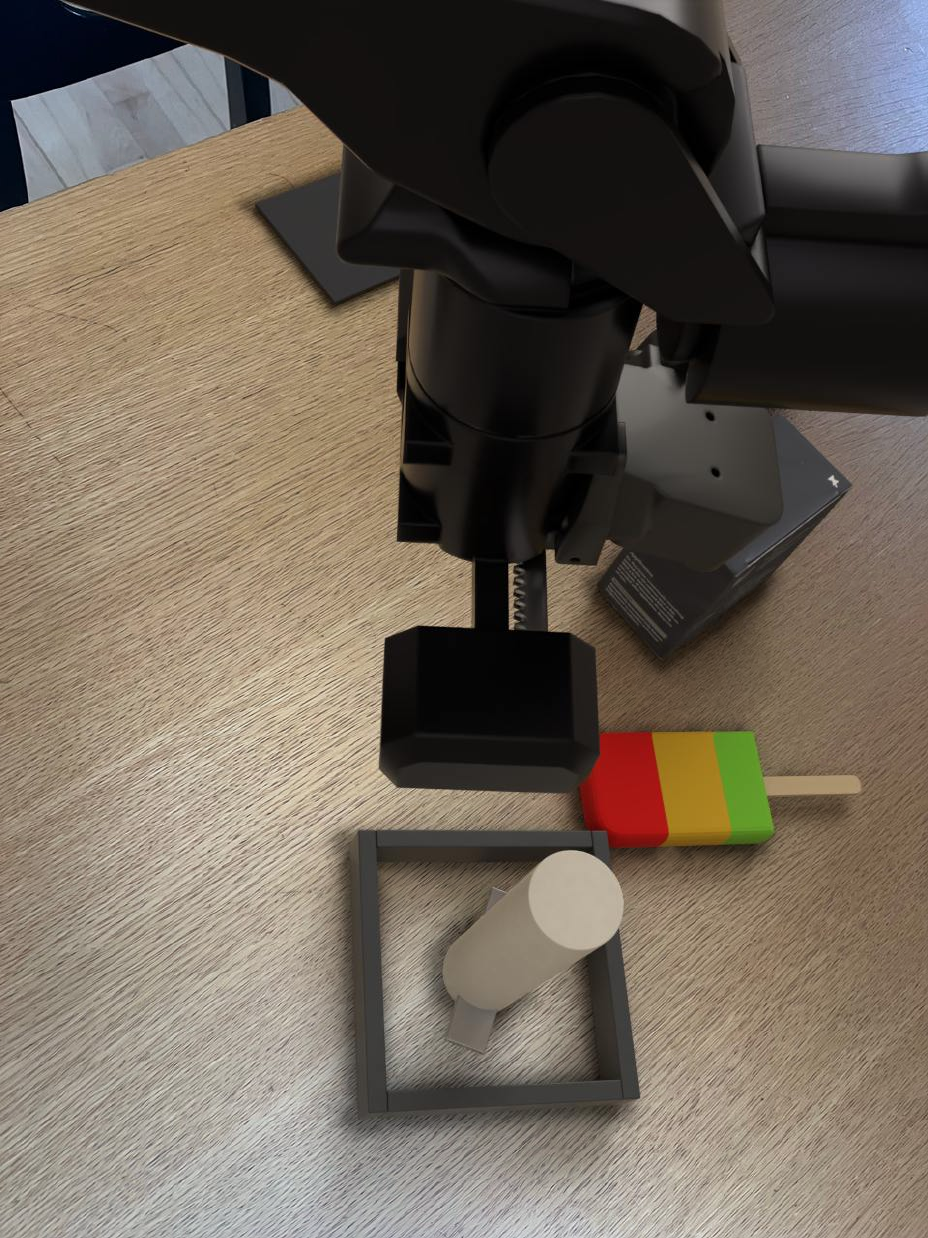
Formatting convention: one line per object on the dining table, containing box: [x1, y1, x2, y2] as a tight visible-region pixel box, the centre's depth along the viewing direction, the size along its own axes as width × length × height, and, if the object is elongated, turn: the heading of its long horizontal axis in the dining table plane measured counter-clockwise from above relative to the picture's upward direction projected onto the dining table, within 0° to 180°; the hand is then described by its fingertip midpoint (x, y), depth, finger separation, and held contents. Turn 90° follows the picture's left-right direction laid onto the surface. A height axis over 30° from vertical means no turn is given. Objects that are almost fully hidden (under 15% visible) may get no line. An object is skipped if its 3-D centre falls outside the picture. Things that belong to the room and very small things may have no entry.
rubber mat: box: [254, 171, 400, 306], centre depth 73 cm, size 8×8×1 cm
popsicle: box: [579, 730, 862, 849], centre depth 62 cm, size 6×15×2 cm, turn 96°
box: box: [596, 412, 853, 660], centre depth 64 cm, size 9×6×10 cm, turn 131°
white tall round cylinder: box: [442, 850, 625, 1056], centre depth 50 cm, size 7×4×13 cm, turn 162°
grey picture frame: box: [348, 829, 641, 1120], centre depth 55 cm, size 12×12×2 cm
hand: (464, 620), depth 47 cm, fingers open, 9 cm apart
